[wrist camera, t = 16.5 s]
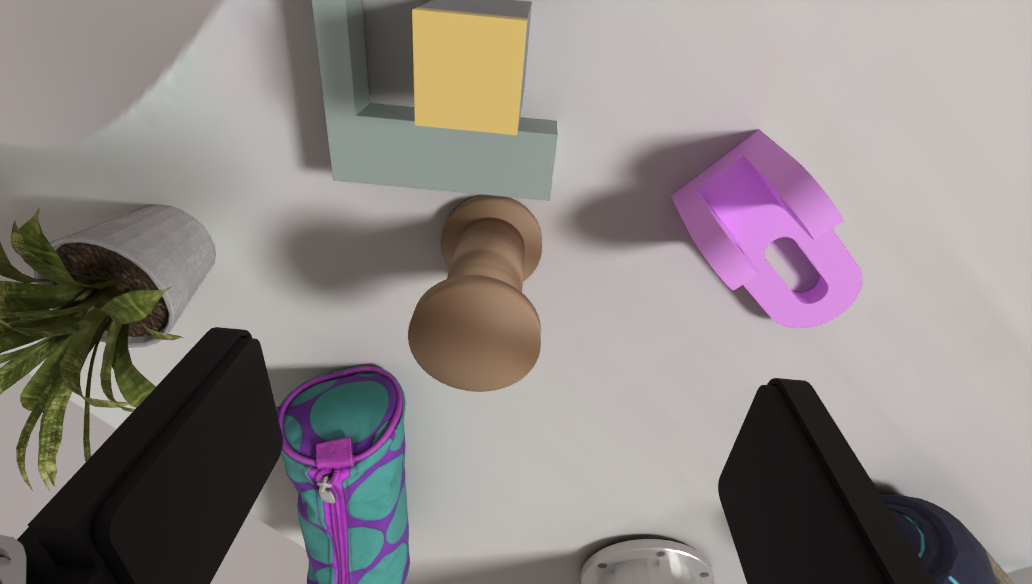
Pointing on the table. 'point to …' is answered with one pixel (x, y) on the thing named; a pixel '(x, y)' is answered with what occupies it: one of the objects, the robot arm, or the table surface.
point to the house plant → (93, 312)
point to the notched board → (415, 129)
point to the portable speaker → (944, 543)
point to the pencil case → (349, 475)
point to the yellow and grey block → (470, 64)
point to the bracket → (769, 230)
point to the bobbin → (481, 299)
